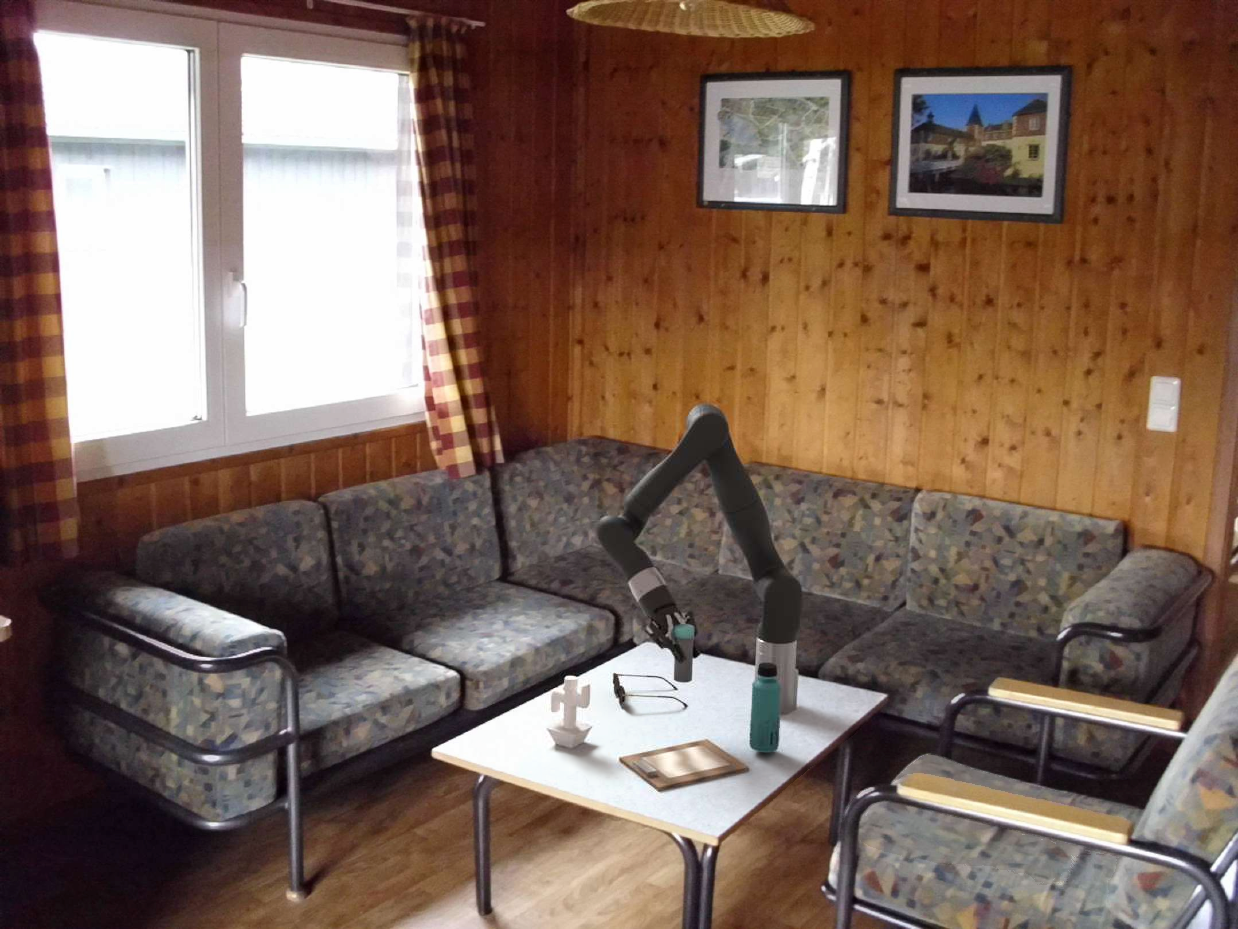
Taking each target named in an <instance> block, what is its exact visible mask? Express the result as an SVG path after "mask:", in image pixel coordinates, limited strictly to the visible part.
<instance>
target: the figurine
mask: <svg viewBox="0 0 1238 929" xmlns="http://www.w3.org/2000/svg"><path fill="white" fill-rule="evenodd" d="M563 680H564V683H563V684H564V685H563V687H562V688H559V687H557V688H556V687H555V688H553V689H552V691H551V694H550V711H551V713H558V712H559V711H560V708H561V707H560V706H561V704H562V703H563V719H561V720H558V721H557V722H555V723H554V724H552V725H549V726H548V727H546V730H547V731H548V733H549V735H550V737H551V738H552V740H553V742H554V743H555V745H559V746H563V747H566V748H569V749H573V748H576V747H577V746H579V745H580V744H582V743H584V742H585V740H586V738H587V736H588V735H589V733H590V731H591V730H592V729H593V726H594V725H592V724H589V723H586V722H582V721H578V720H577V709H578V708H581V709H586V708H588V707H589V706H590V702H591V685H590V684H591V683H589V682H585V683H582V685H581V687H580V689H581V690H580V693H578V683H579V682H578V681H579V678H578V677H577V676H576V675H575V676H574V675H566V676H565V677H564V679H563Z"/></svg>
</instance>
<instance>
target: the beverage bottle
mask: <svg viewBox="0 0 1238 929" xmlns="http://www.w3.org/2000/svg"><path fill="white" fill-rule="evenodd" d="M758 675H760V676H762V677H759V678H758V679H756V680H755V679H754V681H753V682H751V683H752V684H751V685H752V687H751V688H752V689H751V705H750V706H751V709H750V720H749V721H750V723H749V740H748V742H749V745H750V746H749V747H750V748H751V749H752V750H754V751H757V752H761V753H772V752H776V751H777V750H778V749H779V747H780V739H781V736H780V729H781V728H780V727H781V715H780V711H781V710H780V709H781V708H780V707H781V687H782V686H781V684H780V683H779V681H778V680H776V679H775V678H772V677H775V676H777V666H776V665H775V664H773V663H768V662H765V663H760V664H759V666H758Z"/></svg>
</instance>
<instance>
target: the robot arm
mask: <svg viewBox="0 0 1238 929" xmlns="http://www.w3.org/2000/svg"><path fill="white" fill-rule="evenodd" d="M685 421H686V423H685V427H686V428H685V430H686V432H685V434H684V435H683V437H682V438H681V440H680V441H679V443H678V444H677V446H676V447H675V448H674V449H673V450H672V452H671V453H670V454H669V455H667V457H666V458H665V459H663V460H662V461H661V462H660V463H658V464H657V465H656V466H655V467H653V468H652V469H651V470H650V471H649V472H647V473H646V475H644V477H642V479H641V480H640V481H639V482H638V483H637V484H636V485H635V486H634V488H633V489H632V490H631V491H630V492H629V493H628V494H627V496H626V498H625V499H624V508H623V510H622V511H621V513H620V514H619V515H618V516H617V515H612V514H611V515H605V516H603V517H601V518H600V519H599V521H597V524H596V529H595V533H596V534H595V535H596V537H597V540H598V543H599V544H600V545H601V547H602V549H604V551H605V552H606V554H607V555H608V556H609V557H610V558H611V559H612V561H613V562H614V563H615V564H616V565H617V567H618V568H619V570H620V573H621V574H622V575H623V577H624V579H625V581H626V582H627V584H628V586H629V588H630V592H631V593H632V595H633V597H634V598H635V600H636V602H637V604H638V605H639V607H640V609H641V610H642V612H643V614H644V615H645V617H646V618H647V619H649V620H650V623H649V624H647V626H645V628H644V629H643V630H644V633H645V634H647V635H648V637H650V639H651V640H652V641H653V642H654V643H655V644H656V645H657V646H658V647H659V648H660V649H662V650H664V649H667V650H670V652H671V654H672V656H673V658H674V657H675V659H676V661H677V662H678V663H683V662H684V661H685V660H686V656H685V654H684V652H683V651H682V649H681V647H680V646H679V644H677V641H676V638H675V626H676V625H678V624H690V625H693V626H694V637H693V660H694V659H697V658H699V657H700V656H701V649H700V648H699V646H698V644H697V642H696V640H695V637H696V636H697V635H699V630H698V627H697V624H696V621H695V617H694V613H693V611H691V610H689V611H687V612H682V611H681V610H680V609H679V608H678V607H677V600H676V598H675V596H674V595H673V593H672V591H671V590H670V588H669V586H668V585H667V583H666V581H665V579H664V577H663V576H662V575H661V573H660V572H659V571H658V569H657V568H656V566H655V564H654V563H653V562H652V559H651V558H650V556H649V555H648V553H647V552H646V551H645V550H644V549H643V548H642V547H640V546H638V545H637V544H636V542H635V541H636V540H637V539H638V538H639V537H640V534H642V532H643V530H644V528H645V526H646V525H647V523H648V521H649V519H650V518H651V517H652V515H653V514H654V513H655V512H656V511H657V510H658V509H659V508H660V506H661V505H662V504H663V503H664V502H665V501H666V500H667V498H669V496H670V495H671V494H672V493H673V492H674V490H676V488H677V487H678V486H679V485H680V484H681V483H682V481H683V480H685V478H686V477H688V476H689V475H690V474H691V472H694V470H695V469H697V467H698V466H699V465H700V464H701V463H703V462H705V464H706V467H707V470H708V473H709V476H710V480H711V483H712V487H713V490H714V491H713V492H714V494H715V497H716V500H717V502H718V506H719V508H720V510H721V513H722V514H723V518H724V520H725V522H726V524H727V526H728V528H729V530H730V532H731V534H732V536H733V538H734V540H735V542H736V544H737V545H738V547H739V549H740V551H741V552H742V554H743V556H744V558H745V561H746V562H747V566H748V568H749V569H748V570H749V571H750V575H751V578H752V582H753V584H754V588H755V591H756V592H755V593H756V594H757V596H758V598H759V599H760V600H761V602H762V614H761V622H759V623H758V624H757V628H756V644H755V645H756V648H755V650H756V651H755V662H754V663H755V664H754V665H755V667H754V668H755V669H754V681H755V680H756V679H758V678H759V677H762V676H760V675H758V666H759V664H760V663H765V662H768V663H773V664H775V665H776V666H777V676H775V677H772V678H775V679H776V680H778V681H779V683H780V684H781V686H782V687H781V707H780V708H781V709H780V710H781V711H780V716H781V715H787V714H790V713H791V712H792V711H793V710H796V709H797V705H798V704H797V702H798V689H799V688H798V687H799V686H798V685H799V682H798V681H799V669H797V668H796V660H797V659H796V657H797V641H798V632H799V630H800V627H801V621H802V614H803V613H802V612H803V600H804V598H803V597H804V595H803V594H804V593H803V587H802V585H801V583H800V581H799V580H798V579H797V578H796V576H794V575H793V574H792V573H791V572H790V571H789V570H788V568H787V567H786V565H785V564H784V561H783V560H782V558H781V557H780V554H779V553H778V550H777V548H776V546H775V543H774V541H773V535H772V532H771V530H772V529H771V525H770V520H769V517H768V516H769V515H768V513H767V510H766V507H765V505H764V503H763V501H762V498H761V496H760V494H759V491H758V489H757V488H756V485H755V483H754V482H753V480H752V479H751V476H750V474H749V472H748V471H747V469H746V468H745V466H744V464H743V462H742V461H741V458H739V456H738V453H737V451H736V448H735V445H734V443H733V440H732V437H731V433H730V428H729V422H728V420H727V417H726V415H725V413H724V412H723V411H722V410H721V409H720V408H718V407H717V406H715V405H713V404H709V403H700V404H698V405H695V407H692V409H691V410H690V412H689V413H688V415H687V418H686V420H685Z"/></svg>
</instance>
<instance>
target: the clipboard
mask: <svg viewBox="0 0 1238 929" xmlns="http://www.w3.org/2000/svg"><path fill="white" fill-rule="evenodd" d="M618 761H619V762H620V763H621V764H622V765H624V766H625V767H627V768H628V769H629V770H630V771H632V772H633V773H634V774H636V775H637V776H638V777H639V778H641V779H642V780H643V781H645V782H646V783H647V784H648V785H650V786H651V787H653V788H654V789H655V790H657V791H658V792H660V791H664V790H669V789H673V788H678V787H682V786H683V787H684V786H687V785H691V784H696V783H700V782H705V781H710V780H713V779H718V778H722V777H726V776H732V775H735V774H739V773H744V772H749V771H750V766H749V765H747V764H746V763H744V762H742V761H741V760H739V759H738V758H737V757H736V756H733V755H732V754H730V753H728V752H727V751H726V750H725V749H723V748H721V747H720V746H718V745H717V744H715V743H714V742H712V741H711V740H709V739H708V738H705V739H701V740H696V741H692V742H687V743H686V742H685V743H681V744H676V745H671V746H667V747H662V748H658V749H652V750H649V751H642V752H639V753H634V754H633V753H632V754H629V755H623V756H620V757H618Z"/></svg>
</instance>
